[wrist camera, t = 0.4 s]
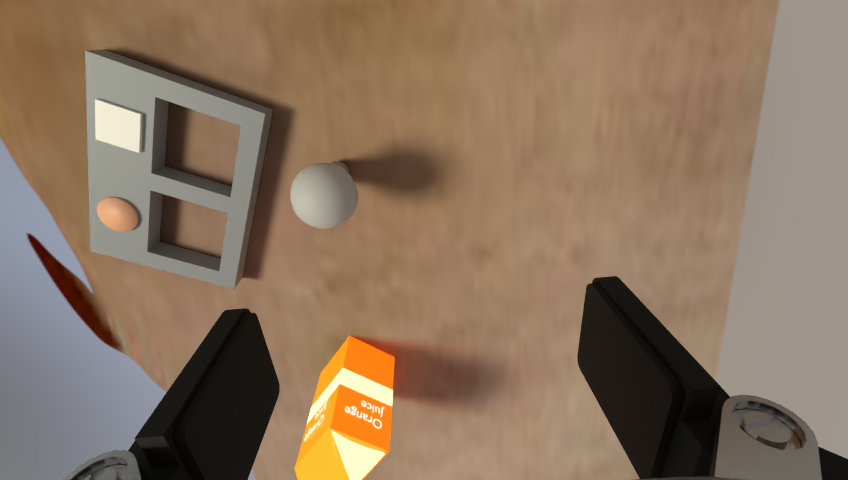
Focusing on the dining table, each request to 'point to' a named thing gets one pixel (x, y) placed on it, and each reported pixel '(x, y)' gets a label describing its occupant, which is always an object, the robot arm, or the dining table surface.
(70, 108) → the dining table surface
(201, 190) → the socket board
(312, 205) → the lightbulb
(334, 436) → the orange juice
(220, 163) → the dining table surface
